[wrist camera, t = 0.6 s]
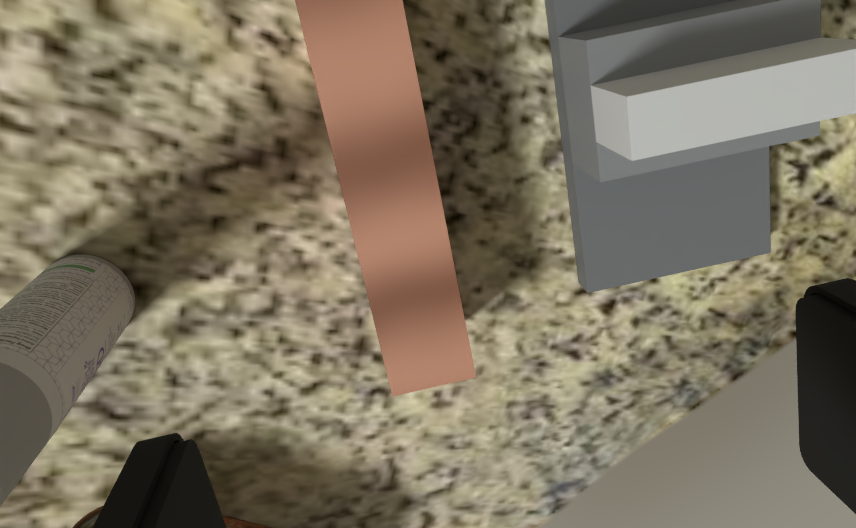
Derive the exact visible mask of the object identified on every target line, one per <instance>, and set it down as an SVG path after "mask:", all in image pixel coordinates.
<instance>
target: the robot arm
mask: <svg viewBox="0 0 856 528" xmlns="http://www.w3.org/2000/svg"><path fill="white" fill-rule="evenodd" d="M796 340H797V375H798V409H799V410H798V411H799V445H800V452H801V455H802V458H803V460H804V462H805V464H806V466H807V467H808V468H809V470H810V471H811V472H812V473H813V474H814V475H815V476H816V477H817V478H818V479H819V480H821V481H822V482H823V483H824V484H825V485H826V486H827V487H828V488H829V489H830V490H831V491H832V492H833V493H834V494H835V495H836V496H837V497H838V498H839V499H841V500H842V501H843V502H844V503H845V504H846V505H847V506H848V507H849V508H850V509H851V510H852V511H853V512H854V513H855V514H856V281H855V280H853V279H849V278H846V279H841V280H837V281H833V282H828V283H824V284H820V285H815V286H811V287H809V288H808V289H807V290H806V292H805V295H804V298H800V299H799V300H798V302H797V304H796ZM93 528H226V525H225V522H224V519H223V516H222V514H221V511H220V508H219V505H218V502H217V500H216V497H215V494H214V491H213V488H212V485H211V483H210V480H209V477H208V474H207V471H206V469H205V466H204V463H203V460H202V457H201V455H200V452H199V449H198V447H197V444H196V443H195V442H194V440H192V439H191V440H186V441H183V439H182V437H181V436H180V435H179V434H177V433H174V434H169V435H165V436H161V437H156V438H152V439H148V440H143V441H139V442H137V443H136V444H135V446H134V447H133V449H132V451H131V453H130V455H129V457H128V459H127V461H126V463H125V465H124V467H123V469H122V471H121V473H120V475H119V477H118V479H117V481H116V483H115V485H114V487H113V488H112V490H111V492H110V494H109V496H108V498H107V500H106V502H105V504H104V506H103V508H102V510H101V512H100V514H99V516H98V518H97V520H96V522H95V524H94V526H93Z"/></svg>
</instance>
